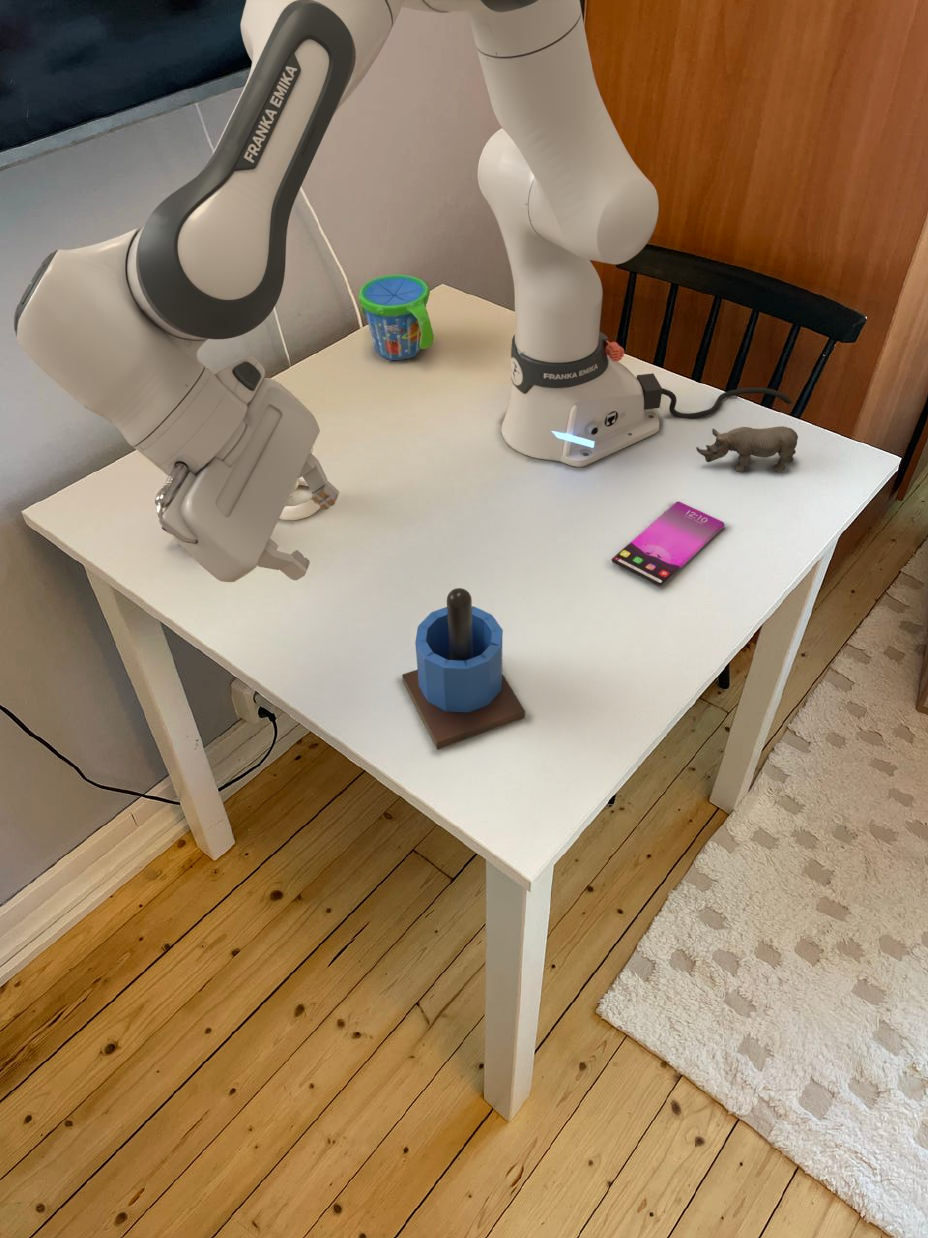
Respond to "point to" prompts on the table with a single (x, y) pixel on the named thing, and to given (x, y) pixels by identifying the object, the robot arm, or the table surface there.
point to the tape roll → (459, 663)
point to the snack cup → (397, 315)
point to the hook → (302, 509)
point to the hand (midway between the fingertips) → (318, 535)
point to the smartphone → (668, 543)
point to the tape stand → (459, 612)
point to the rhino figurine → (754, 445)
